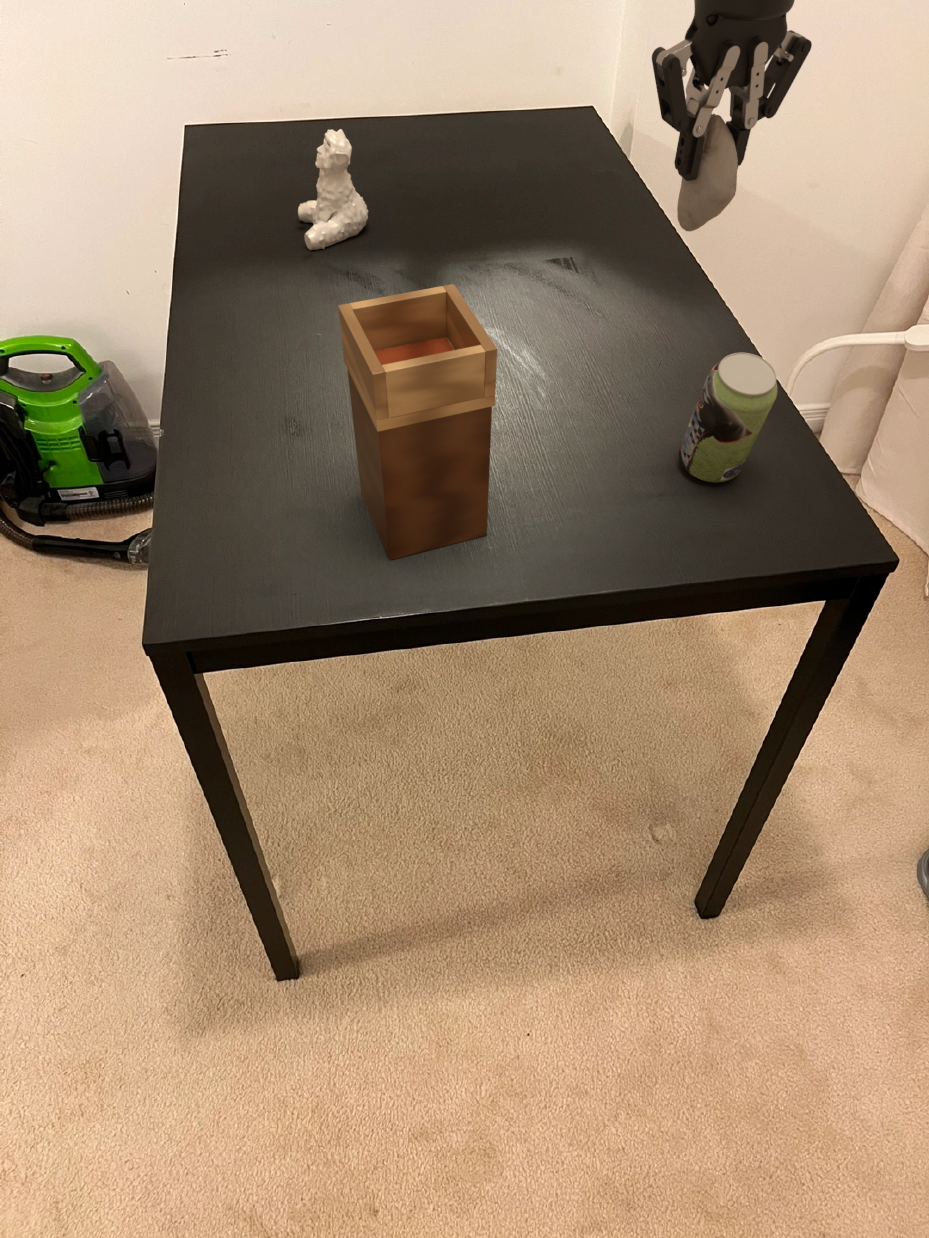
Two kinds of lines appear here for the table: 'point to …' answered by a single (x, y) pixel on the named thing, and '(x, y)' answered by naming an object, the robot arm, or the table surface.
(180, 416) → the table surface
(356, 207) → the white creature statuette
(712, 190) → the fossil
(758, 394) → the beverage can
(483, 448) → the plinth
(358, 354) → the open wooden box
